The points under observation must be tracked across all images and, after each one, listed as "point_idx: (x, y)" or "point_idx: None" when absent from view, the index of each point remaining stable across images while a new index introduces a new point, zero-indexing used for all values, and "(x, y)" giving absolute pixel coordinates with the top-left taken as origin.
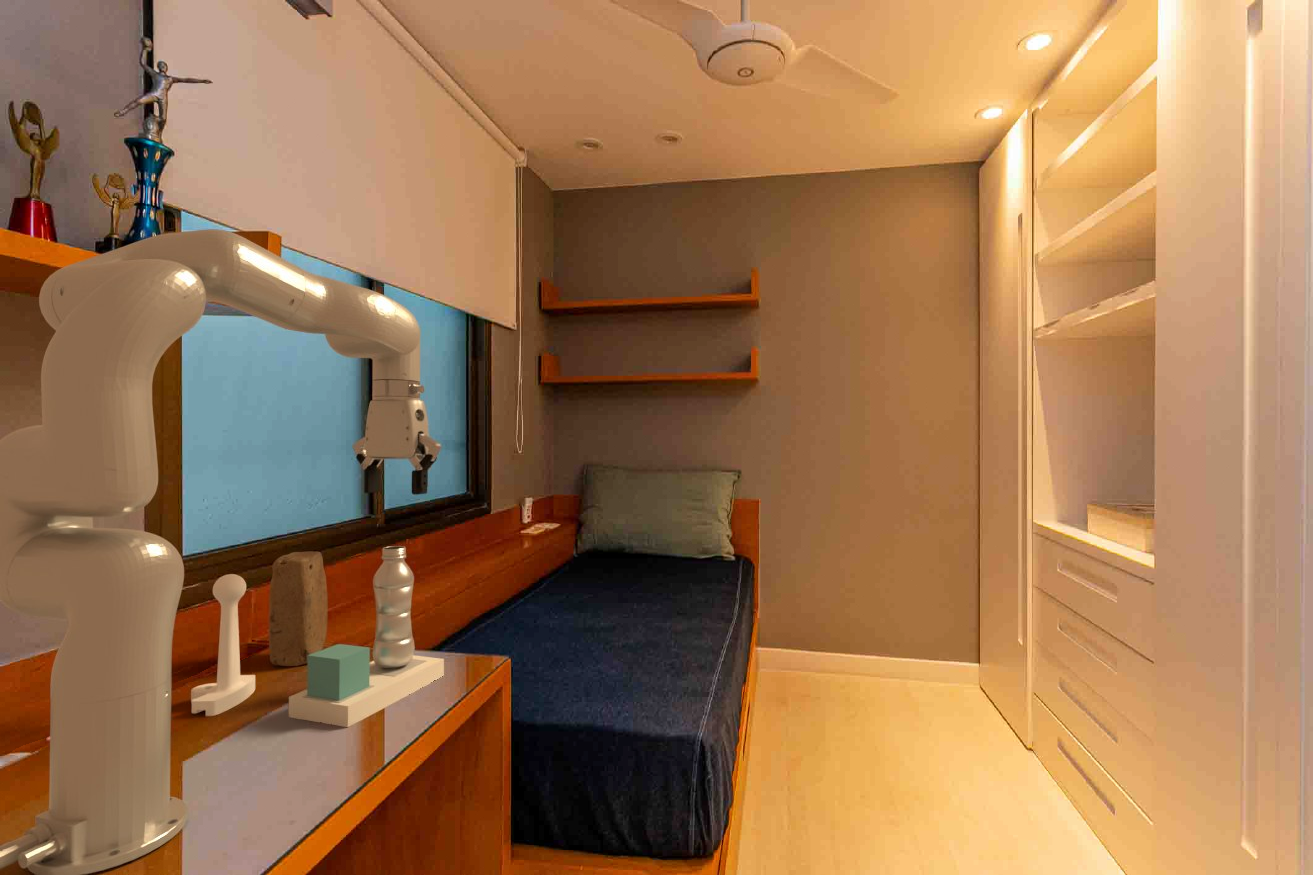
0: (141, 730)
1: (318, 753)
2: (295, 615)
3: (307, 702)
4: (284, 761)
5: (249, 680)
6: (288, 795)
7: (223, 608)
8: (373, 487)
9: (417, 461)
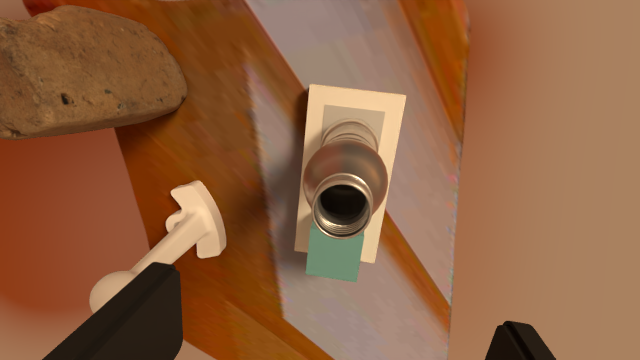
0: None
1: (380, 296)
2: (135, 119)
3: None
4: (362, 310)
5: (201, 201)
6: (402, 349)
7: None
8: (166, 334)
9: None
